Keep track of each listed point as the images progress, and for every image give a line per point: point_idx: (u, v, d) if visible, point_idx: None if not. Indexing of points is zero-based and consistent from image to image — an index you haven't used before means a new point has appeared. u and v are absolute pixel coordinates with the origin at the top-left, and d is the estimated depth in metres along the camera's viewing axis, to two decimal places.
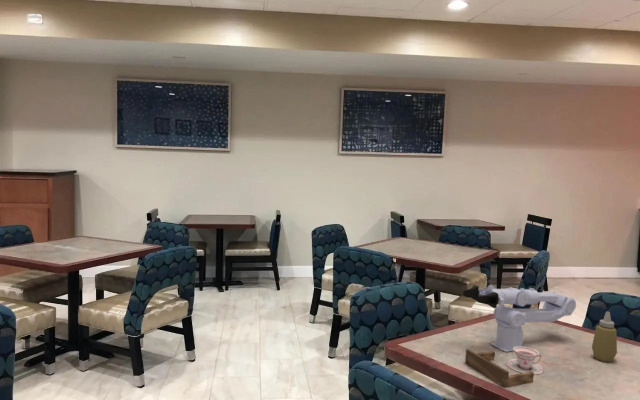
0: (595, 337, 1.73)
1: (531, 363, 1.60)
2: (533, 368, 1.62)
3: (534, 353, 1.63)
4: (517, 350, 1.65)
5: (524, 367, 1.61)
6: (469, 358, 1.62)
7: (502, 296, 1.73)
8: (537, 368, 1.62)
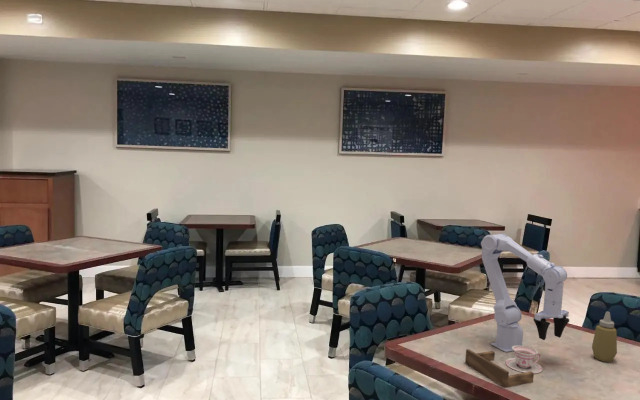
0: (595, 337, 1.73)
1: (530, 362, 1.61)
2: (532, 367, 1.63)
3: (533, 352, 1.63)
4: (516, 349, 1.66)
5: (523, 366, 1.61)
6: (469, 358, 1.62)
7: None
8: (536, 367, 1.63)
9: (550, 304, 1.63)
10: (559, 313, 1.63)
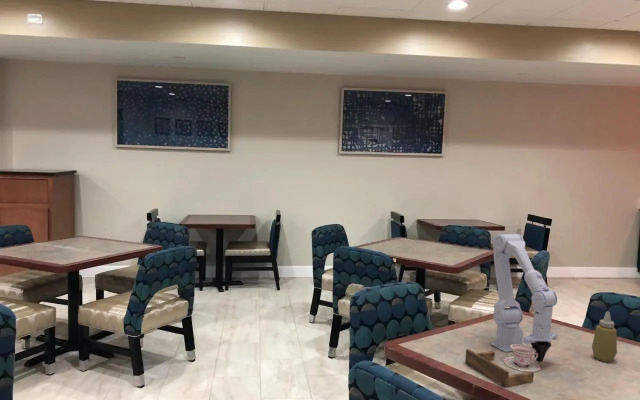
0: (595, 337, 1.73)
1: (528, 360, 1.62)
2: (530, 365, 1.64)
3: (531, 351, 1.65)
4: (514, 348, 1.67)
5: (521, 364, 1.63)
6: (469, 358, 1.62)
7: None
8: (534, 365, 1.64)
9: (539, 328, 1.62)
10: (548, 337, 1.62)
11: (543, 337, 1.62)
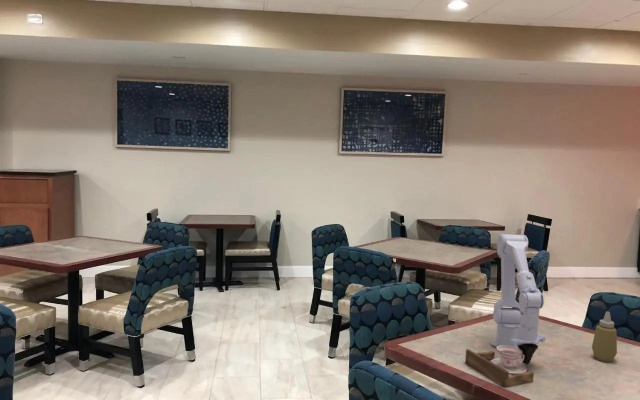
0: (595, 337, 1.73)
1: (514, 362, 1.60)
2: (517, 367, 1.61)
3: (518, 352, 1.62)
4: (501, 349, 1.65)
5: (507, 366, 1.60)
6: (469, 358, 1.62)
7: None
8: (521, 367, 1.62)
9: (526, 329, 1.59)
10: (535, 339, 1.59)
11: (530, 339, 1.59)
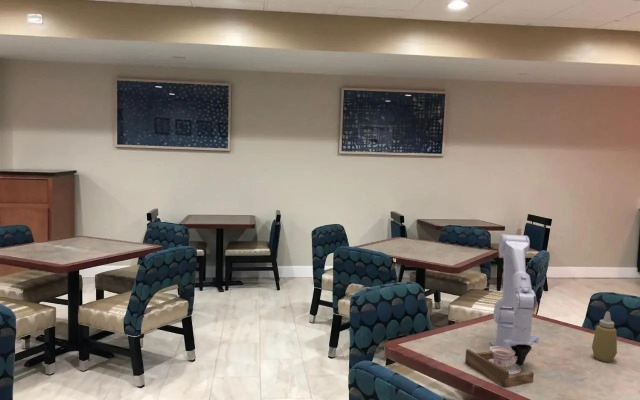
0: (595, 337, 1.73)
1: (506, 363, 1.58)
2: (510, 369, 1.60)
3: (512, 354, 1.60)
4: (496, 350, 1.64)
5: (499, 366, 1.59)
6: (469, 358, 1.62)
7: None
8: (515, 369, 1.59)
9: (519, 330, 1.58)
10: (528, 340, 1.58)
11: (523, 340, 1.58)
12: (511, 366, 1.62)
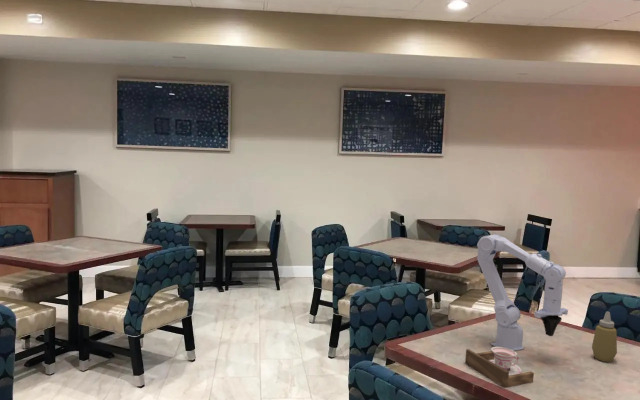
0: (595, 337, 1.73)
1: (507, 364, 1.59)
2: (511, 370, 1.60)
3: (513, 355, 1.60)
4: (497, 350, 1.64)
5: None
6: (469, 358, 1.62)
7: None
8: (516, 370, 1.60)
9: (550, 302, 1.66)
10: (558, 311, 1.66)
11: (554, 311, 1.65)
12: (512, 367, 1.62)
